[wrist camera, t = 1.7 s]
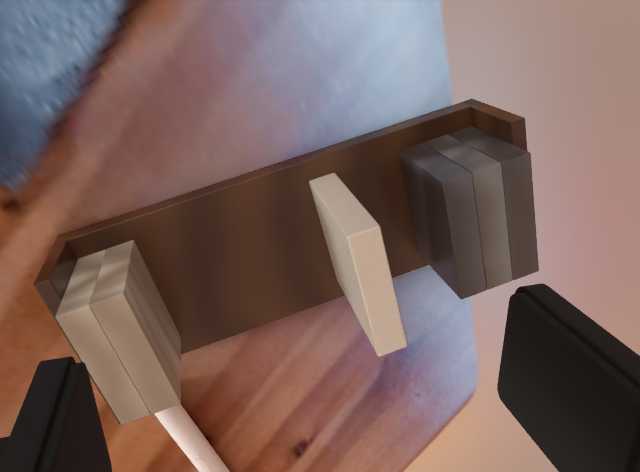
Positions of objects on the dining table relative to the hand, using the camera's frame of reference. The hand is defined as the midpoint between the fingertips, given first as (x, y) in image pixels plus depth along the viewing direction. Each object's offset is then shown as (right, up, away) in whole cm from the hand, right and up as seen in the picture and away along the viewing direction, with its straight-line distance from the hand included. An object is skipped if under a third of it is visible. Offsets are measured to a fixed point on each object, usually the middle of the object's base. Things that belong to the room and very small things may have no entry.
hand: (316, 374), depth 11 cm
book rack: (-2, +3, +30) cm, 30 cm away
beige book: (+1, +4, +29) cm, 29 cm away
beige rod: (-10, -17, +37) cm, 42 cm away
